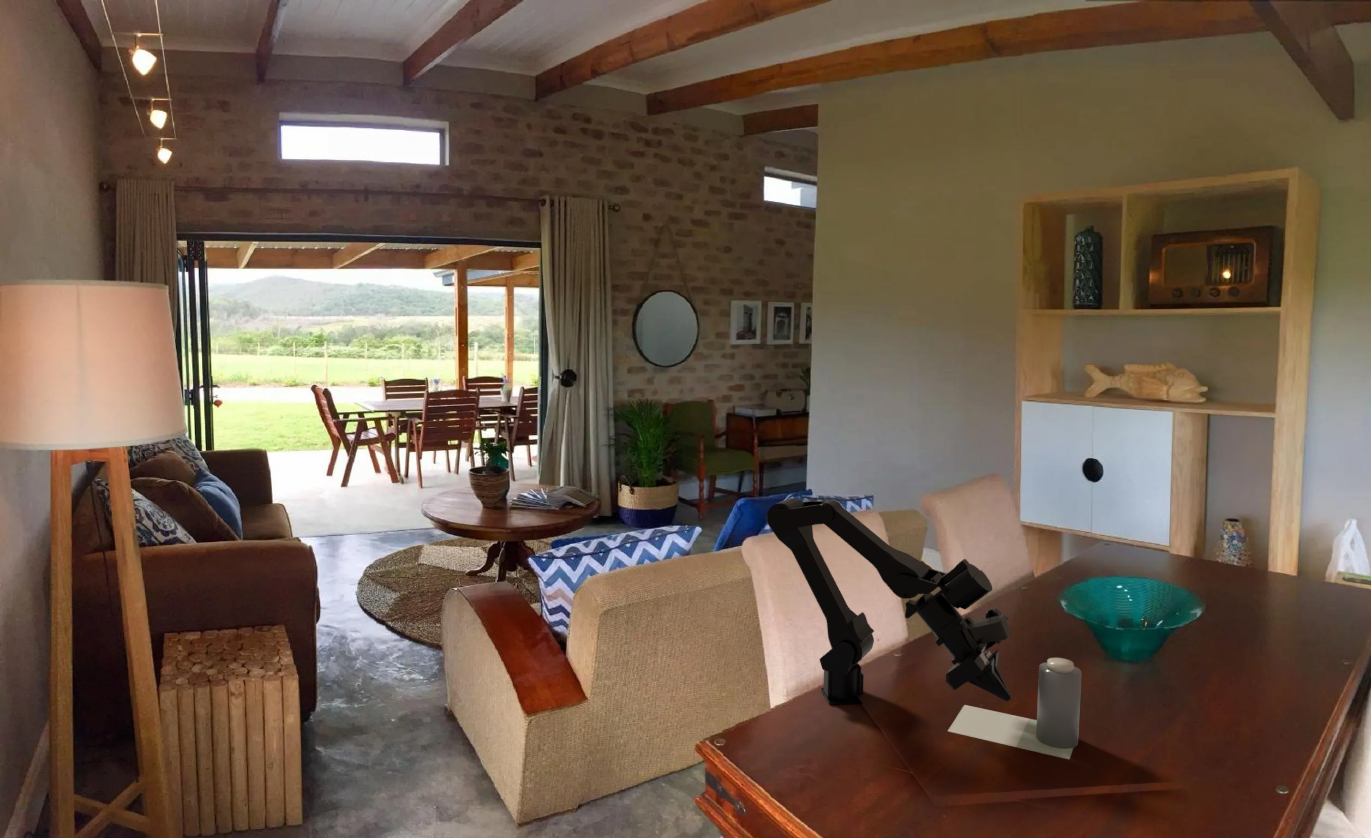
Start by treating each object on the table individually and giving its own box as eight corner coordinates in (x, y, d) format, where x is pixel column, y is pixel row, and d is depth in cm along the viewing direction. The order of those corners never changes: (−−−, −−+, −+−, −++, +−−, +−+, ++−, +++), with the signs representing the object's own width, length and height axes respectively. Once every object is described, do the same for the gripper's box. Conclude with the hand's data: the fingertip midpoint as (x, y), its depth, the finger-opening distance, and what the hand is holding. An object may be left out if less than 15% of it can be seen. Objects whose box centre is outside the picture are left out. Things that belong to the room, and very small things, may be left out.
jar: (1048, 749, 142) (1052, 670, 141) (1028, 731, 148) (1032, 655, 147) (1085, 747, 143) (1090, 668, 141) (1064, 729, 149) (1068, 654, 148)
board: (947, 735, 149) (947, 730, 149) (964, 709, 159) (964, 704, 159) (1069, 763, 139) (1069, 759, 139) (1078, 733, 149) (1079, 729, 149)
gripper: (969, 613, 142) (1038, 694, 137) (993, 583, 158) (1056, 656, 153) (918, 650, 146) (983, 730, 142) (947, 618, 162) (1006, 689, 158)
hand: (1009, 699), depth 149 cm, fingers closed
